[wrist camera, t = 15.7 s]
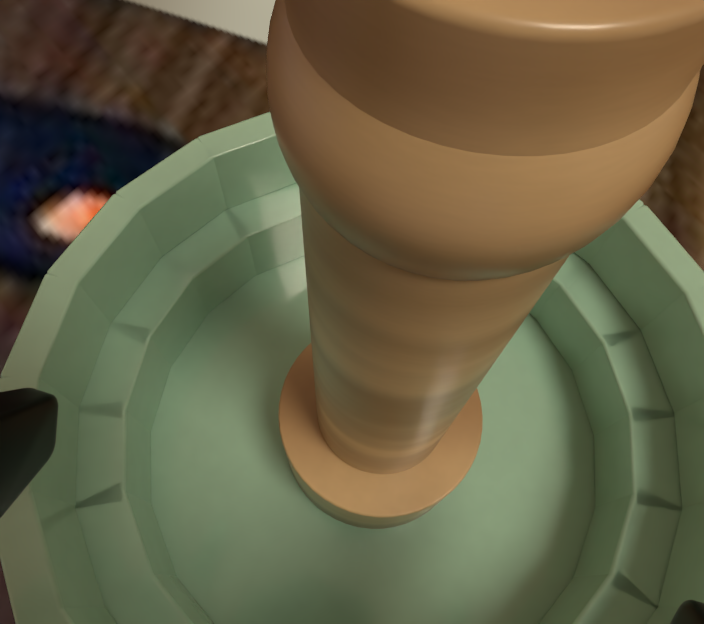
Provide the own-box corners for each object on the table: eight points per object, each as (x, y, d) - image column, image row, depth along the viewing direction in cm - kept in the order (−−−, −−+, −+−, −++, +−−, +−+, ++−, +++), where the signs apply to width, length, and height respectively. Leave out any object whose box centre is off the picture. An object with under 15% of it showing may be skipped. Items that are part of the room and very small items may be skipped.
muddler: (464, 534, 15) (1160, 216, 2) (276, 523, 15) (-14, 144, 2) (459, 358, 17) (817, -304, 5) (294, 348, 17) (189, -347, 4)
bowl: (381, 986, 12) (411, 1226, 7) (-26, 436, 16) (-162, 375, 12) (756, 442, 17) (911, 387, 12) (368, 137, 21) (378, 14, 17)
